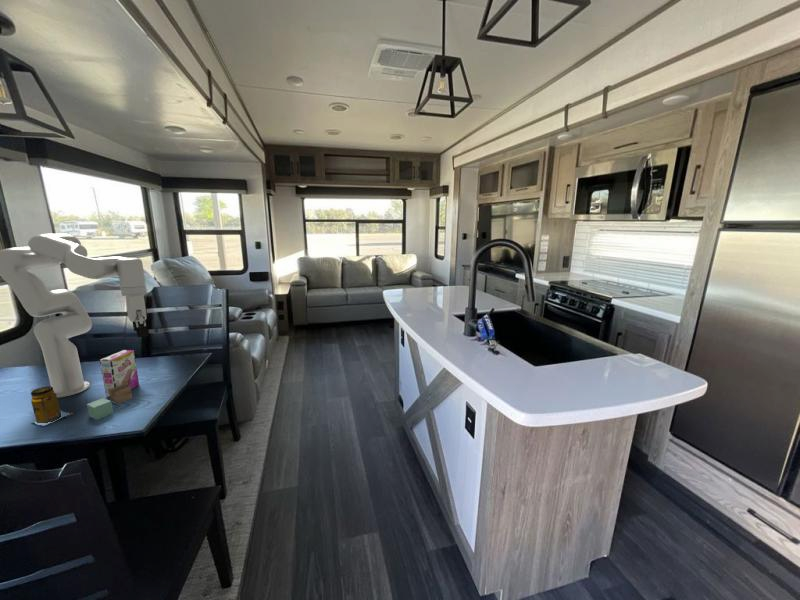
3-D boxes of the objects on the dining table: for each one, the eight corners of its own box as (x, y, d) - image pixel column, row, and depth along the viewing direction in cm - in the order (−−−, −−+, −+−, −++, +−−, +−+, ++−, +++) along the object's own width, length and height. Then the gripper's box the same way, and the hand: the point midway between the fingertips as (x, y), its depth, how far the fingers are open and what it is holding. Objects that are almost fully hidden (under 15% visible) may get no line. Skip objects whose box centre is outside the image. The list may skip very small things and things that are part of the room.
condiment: (30, 423, 113) (22, 392, 110) (60, 410, 121) (53, 381, 118) (44, 427, 111) (36, 395, 108) (74, 414, 119) (67, 384, 116)
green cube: (89, 416, 118) (86, 404, 116) (106, 409, 122) (103, 397, 121) (96, 420, 115) (93, 407, 114) (113, 413, 120) (110, 401, 119)
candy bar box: (117, 398, 130) (110, 360, 126) (105, 397, 130) (98, 359, 127) (140, 385, 141) (134, 349, 137) (129, 384, 141) (123, 349, 137)
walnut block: (110, 401, 128) (108, 389, 127) (125, 395, 132) (123, 384, 131) (117, 404, 126) (115, 392, 125) (132, 398, 130) (130, 386, 129)
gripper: (118, 288, 126) (126, 330, 130) (123, 295, 114) (131, 341, 118) (143, 286, 131) (149, 326, 135) (150, 293, 120) (156, 336, 123)
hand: (140, 333), depth 127 cm, fingers open, 9 cm apart
